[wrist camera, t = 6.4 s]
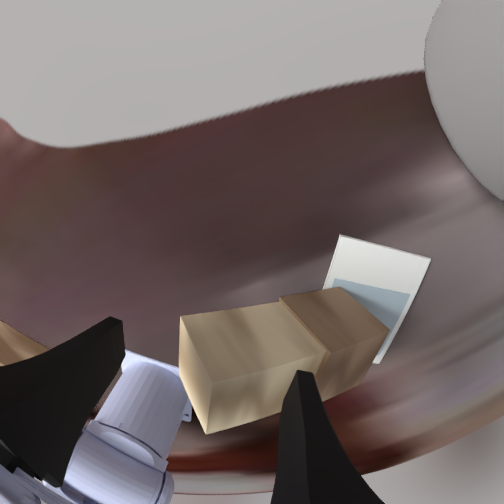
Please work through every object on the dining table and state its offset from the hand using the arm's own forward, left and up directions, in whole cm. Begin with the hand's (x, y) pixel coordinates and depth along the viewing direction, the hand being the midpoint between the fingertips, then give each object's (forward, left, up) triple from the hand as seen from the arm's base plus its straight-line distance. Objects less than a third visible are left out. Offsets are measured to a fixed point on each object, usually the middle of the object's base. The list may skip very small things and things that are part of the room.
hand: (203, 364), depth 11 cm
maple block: (-3, -4, -5) cm, 7 cm away
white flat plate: (-2, -9, -10) cm, 14 cm away
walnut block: (-3, -8, -8) cm, 12 cm away
